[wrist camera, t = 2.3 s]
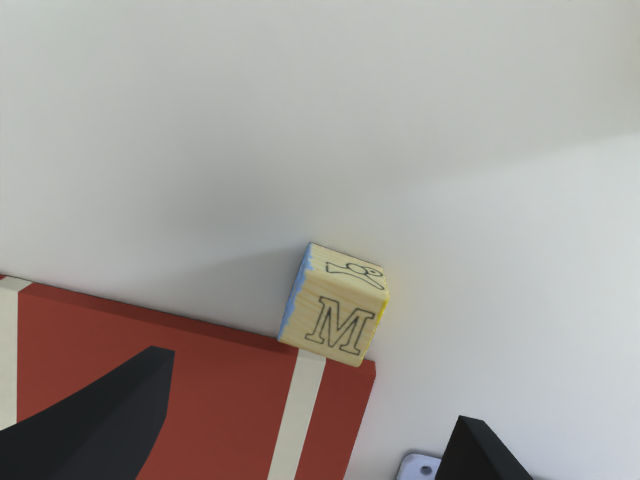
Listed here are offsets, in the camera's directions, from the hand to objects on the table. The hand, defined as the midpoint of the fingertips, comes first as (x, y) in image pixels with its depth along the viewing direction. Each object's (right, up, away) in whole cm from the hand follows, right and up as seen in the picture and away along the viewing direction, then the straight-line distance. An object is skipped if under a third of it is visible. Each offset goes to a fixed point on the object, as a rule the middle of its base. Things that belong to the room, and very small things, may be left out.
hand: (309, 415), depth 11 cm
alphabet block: (+1, +3, +7) cm, 8 cm away
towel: (-7, -4, +10) cm, 13 cm away
